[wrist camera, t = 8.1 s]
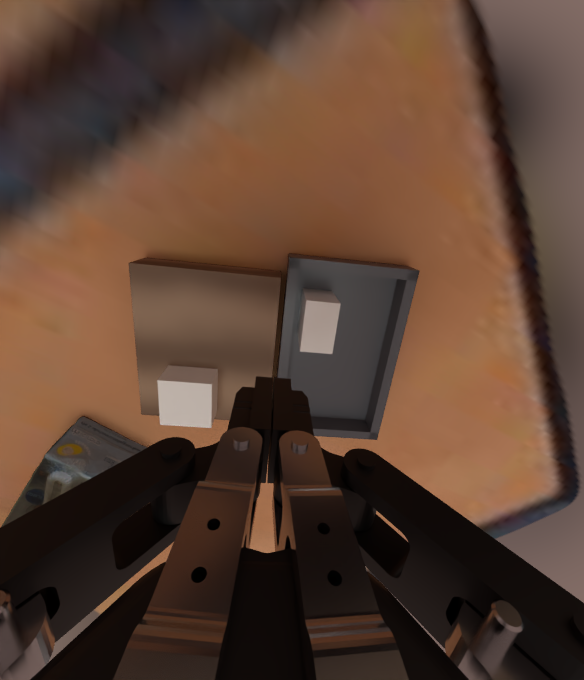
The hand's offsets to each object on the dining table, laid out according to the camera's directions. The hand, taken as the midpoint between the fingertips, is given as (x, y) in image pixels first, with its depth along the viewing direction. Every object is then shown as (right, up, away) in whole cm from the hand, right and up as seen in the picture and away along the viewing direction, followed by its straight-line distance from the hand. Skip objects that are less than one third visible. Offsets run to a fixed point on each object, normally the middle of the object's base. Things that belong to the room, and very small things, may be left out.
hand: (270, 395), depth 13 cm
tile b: (-7, -2, +13) cm, 15 cm away
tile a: (+2, +4, +11) cm, 12 cm away
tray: (+5, +2, +15) cm, 16 cm away
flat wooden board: (-6, +3, +14) cm, 16 cm away
